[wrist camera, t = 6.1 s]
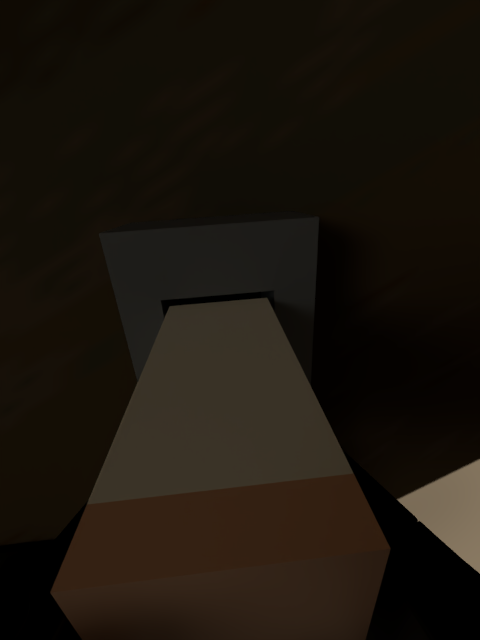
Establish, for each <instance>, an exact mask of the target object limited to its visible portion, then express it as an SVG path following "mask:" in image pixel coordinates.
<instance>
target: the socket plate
mask: <svg viewBox="0 0 480 640" xmlns="http://www.w3.org/2000/svg"><path fill="white" fill-rule="evenodd" d="M318 231H319V217H317V216H312V215H308V214H304V213H299V212H295V211H286V212H272V213H259V214H245V215H232V216H218V217H205V218H191V219H177V220H164V221H150V222H137V223H129V224H126V225H123V226H120V227H117V228H114V229H111V230H108V231H105V232H102V233H99V236H100V240H101V244H102V247H103V251H104V255H105V259H106V263H107V267H108V270H109V274H110V278H111V282H112V286H113V289H114V293H115V297H116V301H117V305H118V309H119V312H120V316H121V320H122V324H123V328H124V331H125V335H126V339H127V343H128V347H129V350H130V354H131V358H132V362H133V366H134V370H135V373H136V377H137V381H139V378H140V376H141V373H142V371H143V369H144V366H145V364H146V361H147V359H148V357H149V354H150V352H151V349H152V347H153V345H154V342H155V340H156V337H157V335H158V333H159V330H160V328H161V325H162V323H163V321H164V318H165V316H166V313H167V311H168V309H169V306H177V305H179V300H178V299H182V298H193V297H205V296H217V295H228V294H240V293H251V292H261V298H268V300H269V302H270V304H271V306H272V308H273V310H274V313H275V315H276V317H277V319H278V321H279V323H280V325H281V327H282V329H283V331H284V333H285V335H286V337H287V339H288V341H289V343H290V345H291V347H292V349H293V351H294V353H295V355H296V357H297V359H298V361H299V363H300V365H301V367H302V369H303V372H304V374H305V376H306V378H307V380H308V382H309V384H310V386H311V371H312V351H313V331H314V311H315V291H316V271H317V251H318Z"/></svg>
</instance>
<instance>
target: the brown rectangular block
mask: <svg viewBox="0 0 480 640" xmlns="http://www.w3.org/2000/svg"><path fill="white" fill-rule="evenodd" d="M389 553H390V546H389V544H388V542H387V540H386V538H385V536H384V534H383V532H382V530H381V528H380V526H379V524H378V522H377V520H376V518H375V516H374V514H373V512H372V510H371V508H370V506H369V504H368V502H367V500H366V498H365V496H364V494H363V492H362V490H361V487H360V485H359V483H358V481H357V479H356V477H355V475H354V473H353V471H352V469H351V467H350V465H349V463H348V461H347V459H346V457H345V455H344V453H343V451H342V449H341V447H340V445H339V443H338V441H337V439H336V437H335V435H334V433H333V431H332V428H331V426H330V424H329V422H328V420H327V418H326V416H325V414H324V412H323V410H322V408H321V406H320V404H319V402H318V400H317V398H316V396H315V394H314V392H313V390H312V388H311V386H310V384H309V382H308V380H307V378H306V376H305V374H304V372H303V369H302V367H301V365H300V363H299V361H298V359H297V357H296V355H295V353H294V351H293V349H292V347H291V345H290V343H289V341H288V339H287V337H286V335H285V333H284V331H283V329H282V327H281V325H280V323H279V321H278V319H277V317H276V315H275V313H274V310H273V308H272V306H271V304H270V302H269V300H268V298H257V299H246V300H234V301H223V302H211V303H200V304H188V305H177V306H169V309H168V311H167V313H166V316H165V318H164V321H163V323H162V325H161V328H160V330H159V333H158V335H157V337H156V340H155V342H154V345H153V347H152V349H151V352H150V354H149V357H148V359H147V361H146V364H145V366H144V369H143V371H142V373H141V376H140V378H139V381H138V383H137V385H136V388H135V390H134V393H133V395H132V397H131V400H130V402H129V405H128V407H127V409H126V412H125V414H124V417H123V419H122V421H121V424H120V426H119V429H118V431H117V433H116V436H115V438H114V441H113V443H112V445H111V448H110V450H109V453H108V455H107V457H106V460H105V462H104V465H103V467H102V469H101V472H100V474H99V477H98V479H97V481H96V484H95V486H94V489H93V491H92V493H91V496H90V498H89V501H88V503H87V505H86V508H85V510H84V513H83V515H82V517H81V520H80V522H79V525H78V527H77V529H76V532H75V534H74V537H73V539H72V541H71V544H70V546H69V549H68V551H67V553H66V556H65V558H64V561H63V563H62V565H61V568H60V570H59V573H58V575H57V577H56V580H55V582H54V585H53V587H52V589H51V592H50V593H51V595H52V596H53V598H54V599H55V601H56V602H57V604H58V605H59V607H60V608H61V609H62V611H63V612H64V614H65V615H66V617H67V618H68V620H69V621H70V623H71V624H72V626H73V627H74V629H75V630H76V632H77V633H78V635H79V636H80V638H81V639H82V640H366V636H367V632H368V629H369V625H370V622H371V618H372V614H373V611H374V607H375V603H376V600H377V596H378V593H379V589H380V585H381V582H382V578H383V574H384V571H385V567H386V564H387V560H388V556H389Z"/></svg>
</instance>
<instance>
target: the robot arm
mask: <svg viewBox="0 0 480 640" xmlns="http://www.w3.org/2000/svg"><path fill="white" fill-rule="evenodd" d="M342 451H343V450H342ZM343 453H344V455H345V457H346V459H347V461H348V463H349V465H350V467H351V469H352V471H353V473H354V475H355V477H356V479H357V481H358V483H359V485H360V487H361V490H362V492H363V494H364V496H365V498H366V500H367V502H368V504H369V506H370V508H371V510H372V512H373V514H374V516H375V518H376V520H377V522H378V524H379V526H380V528H381V530H382V532H383V534H384V536H385V538H386V540H387V542H388V544H389V546H390V553H389V556H388V560H387V564H386V567H385V571H384V574H383V578H382V582H381V585H380V589H379V593H378V596H377V600H376V603H375V607H374V611H373V614H372V618H371V622H370V625H369V629H368V632H367V636H366V640H480V574H479V573H478V572H477V571H476V570H474V569H473V568H472V567H471V566H470V565H469V564H467V563H466V562H465V561H464V560H463V559H461V558H460V557H459V556H458V555H457V554H456V553H455V552H453V550H451V549H450V548H449V547H448V546H447V545H446V544H445V543H444V542H442V541H441V540H440V539H439V538H438V537H437V536H436V535H434V534H433V533H432V532H431V531H430V530H429V529H428V528H427V527H426V526H425V525H424V524H423V523H421V522H420V521H419V522H418V520H417V518H416V517H415V516H414V515H413V514H412V513H410V512H409V511H408V510H407V509H406V508H405V507H404V506H403V505H402V504H401V503H400V502H399V501H398V500H396V499H395V498H394V497H393V496H392V495H391V494H390V493H389V492H388V491H387V490H386V489H385V488H383V487H382V486H381V485H380V484H379V483H378V482H377V481H376V480H375V479H374V478H373V477H372V476H370V475H369V474H368V473H367V472H366V471H365V470H364V469H363V468H362V467H361V466H360V465H359V464H357V463H356V462H355V461H354V460H353V459H352V458H351V457H350V456H349V455H348V454H347V453H346V452H344V451H343ZM88 501H89V500H88ZM88 501H87V502H86V504H85V505H84V506H83V507H82V508H81V510H80V511H79V512H78V513H77V514H76V515H75V517H74V518H73V519H72V520H71V521H70V523H69V524H68V525H67V526H66V527H65V528H64V530H63V531H62V532H61V533H60V534H59V536H58V537H57V538H56V539H55V540H54V541H51V542H43V543H35V544H27V545H18V546H10V547H2V548H0V640H82V639H81V638H80V636H79V635H78V633H77V632H76V630H75V629H74V627H73V626H72V624H71V623H70V621H69V620H68V618H67V617H66V615H65V614H64V612H63V611H62V609H61V608H60V607H59V605H58V604H57V602H56V601H55V599H54V598H53V596H52V595H51V593H50V592H51V589H52V587H53V585H54V582H55V580H56V577H57V575H58V573H59V570H60V568H61V565H62V563H63V561H64V558H65V556H66V553H67V551H68V549H69V546H70V544H71V541H72V539H73V537H74V534H75V532H76V529H77V527H78V525H79V522H80V520H81V517H82V515H83V513H84V510H85V508H86V505H87V503H88Z"/></svg>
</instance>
